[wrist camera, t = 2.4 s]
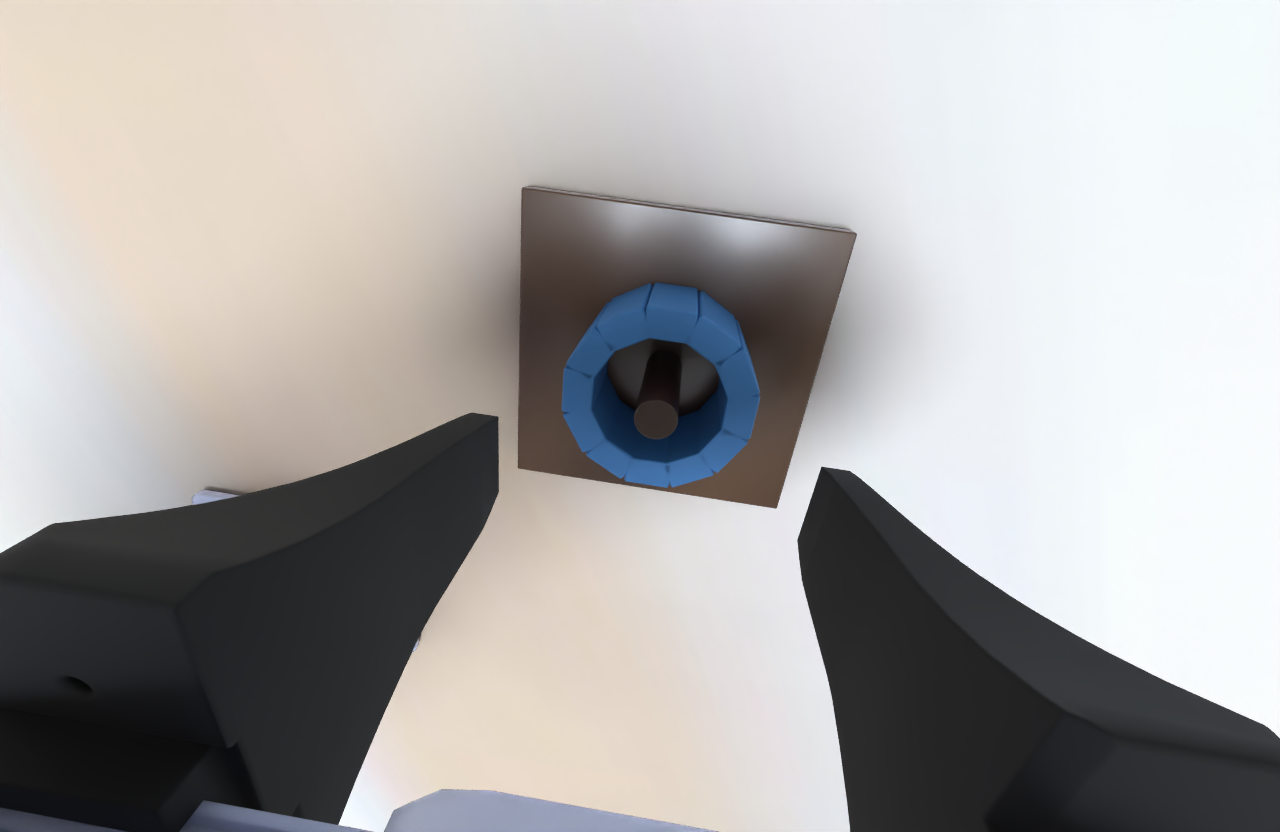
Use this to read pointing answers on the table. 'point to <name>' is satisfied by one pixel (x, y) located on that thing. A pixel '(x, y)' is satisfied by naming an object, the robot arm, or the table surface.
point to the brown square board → (664, 370)
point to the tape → (698, 435)
